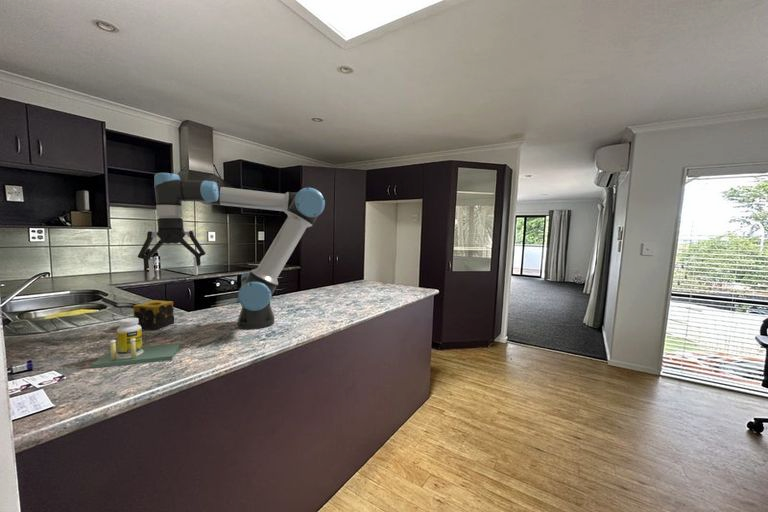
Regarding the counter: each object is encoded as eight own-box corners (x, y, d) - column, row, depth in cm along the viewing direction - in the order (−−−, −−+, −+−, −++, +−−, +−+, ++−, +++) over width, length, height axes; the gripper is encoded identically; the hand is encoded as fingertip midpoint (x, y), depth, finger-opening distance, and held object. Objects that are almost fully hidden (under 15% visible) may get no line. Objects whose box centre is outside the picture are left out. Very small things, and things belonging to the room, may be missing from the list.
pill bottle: (128, 357, 95) (126, 323, 95) (112, 355, 97) (110, 321, 96) (147, 350, 101) (146, 317, 101) (132, 348, 103) (130, 316, 102)
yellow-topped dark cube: (154, 322, 135) (154, 299, 135) (175, 323, 134) (174, 301, 133) (133, 329, 125) (132, 305, 125) (155, 331, 124) (154, 307, 123)
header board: (181, 346, 109) (181, 325, 109) (171, 359, 98) (171, 337, 97) (111, 352, 102) (110, 331, 102) (92, 368, 91) (91, 344, 90)
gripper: (211, 217, 118) (214, 272, 121) (130, 217, 108) (136, 277, 111) (208, 217, 112) (212, 275, 114) (122, 217, 102) (128, 280, 104)
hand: (174, 276), depth 112 cm, fingers open, 13 cm apart
